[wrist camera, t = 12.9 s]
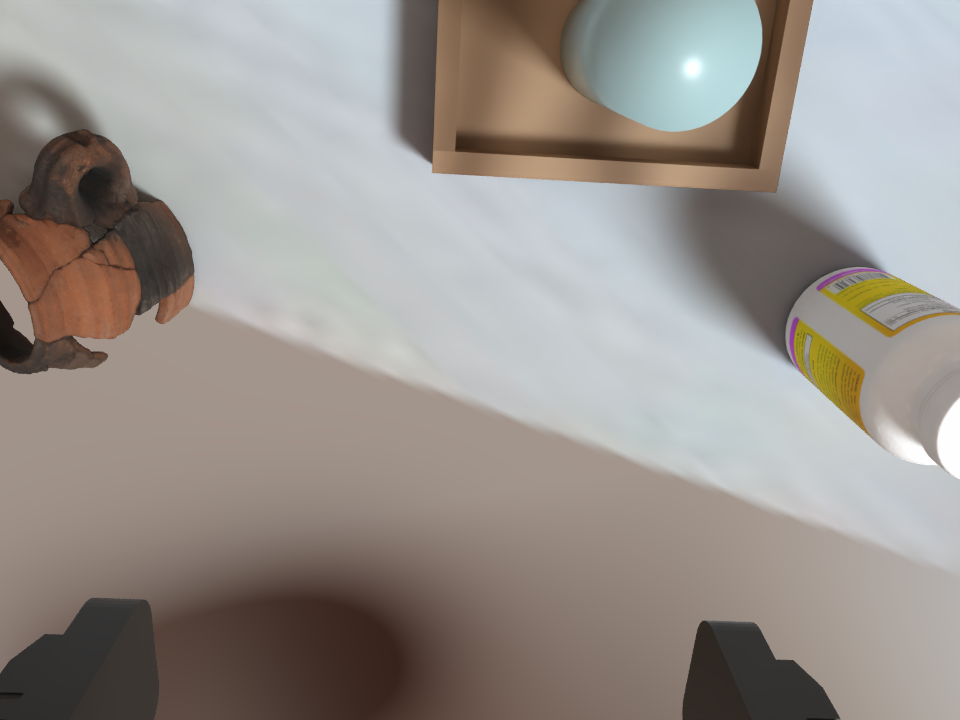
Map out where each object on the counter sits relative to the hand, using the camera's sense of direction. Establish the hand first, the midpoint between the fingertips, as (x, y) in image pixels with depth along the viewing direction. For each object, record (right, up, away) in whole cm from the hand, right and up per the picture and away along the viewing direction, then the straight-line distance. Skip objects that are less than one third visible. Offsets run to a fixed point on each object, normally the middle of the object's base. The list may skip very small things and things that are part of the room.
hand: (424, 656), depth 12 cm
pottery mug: (-18, +11, +28) cm, 35 cm away
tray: (+7, +19, +25) cm, 32 cm away
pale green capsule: (+7, +19, +24) cm, 31 cm away
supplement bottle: (+20, +6, +30) cm, 37 cm away
